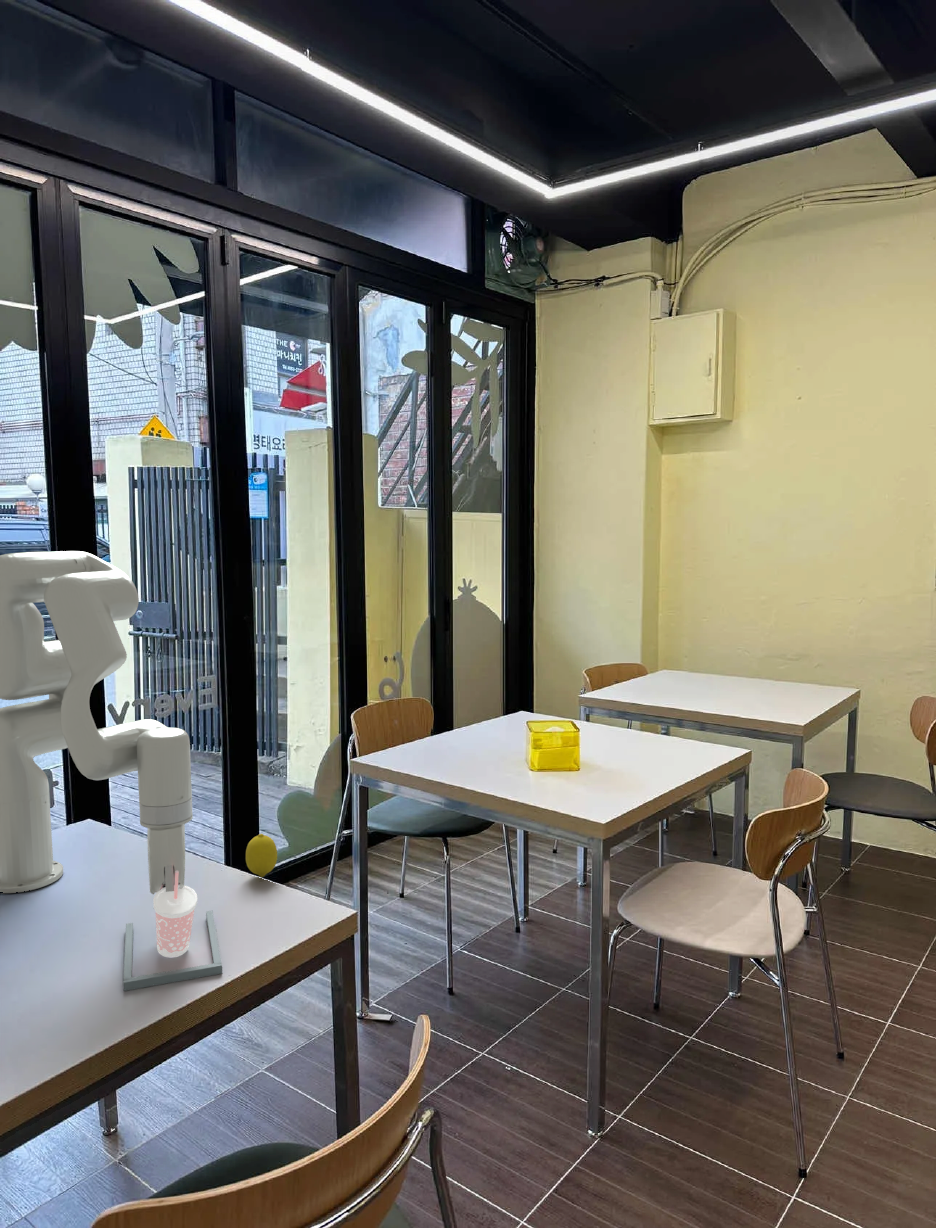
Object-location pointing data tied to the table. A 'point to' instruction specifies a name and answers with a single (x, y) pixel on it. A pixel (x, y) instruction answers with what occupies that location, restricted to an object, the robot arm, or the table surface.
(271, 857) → the lemon
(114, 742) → the robot arm
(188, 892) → the beverage cup
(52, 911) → the table surface
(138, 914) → the table surface
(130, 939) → the slate channel
